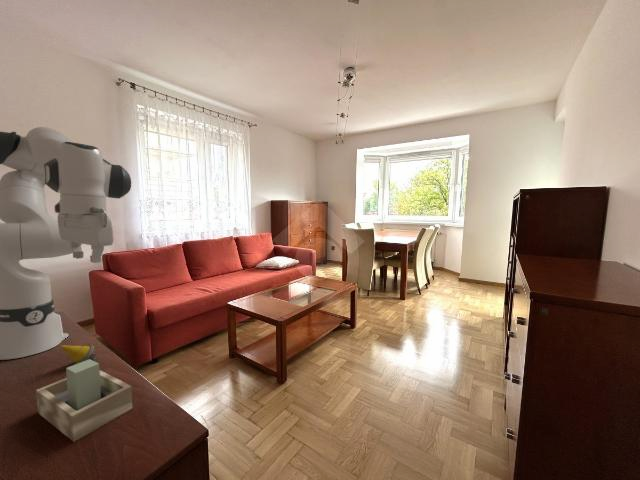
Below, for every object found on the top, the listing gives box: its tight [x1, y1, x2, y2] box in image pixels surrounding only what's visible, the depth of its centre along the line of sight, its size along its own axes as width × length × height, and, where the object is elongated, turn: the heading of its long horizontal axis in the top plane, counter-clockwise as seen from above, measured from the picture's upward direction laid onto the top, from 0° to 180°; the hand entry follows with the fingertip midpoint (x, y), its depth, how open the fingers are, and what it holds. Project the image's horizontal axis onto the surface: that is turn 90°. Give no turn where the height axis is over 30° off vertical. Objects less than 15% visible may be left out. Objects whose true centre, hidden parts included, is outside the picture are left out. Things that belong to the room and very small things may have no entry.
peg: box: [66, 359, 101, 411], centre depth 57 cm, size 4×4×10 cm
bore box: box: [35, 369, 133, 443], centre depth 57 cm, size 16×10×5 cm, turn 63°
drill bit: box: [59, 344, 97, 365], centre depth 74 cm, size 5×5×10 cm
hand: (86, 260), depth 70 cm, fingers open, 8 cm apart
